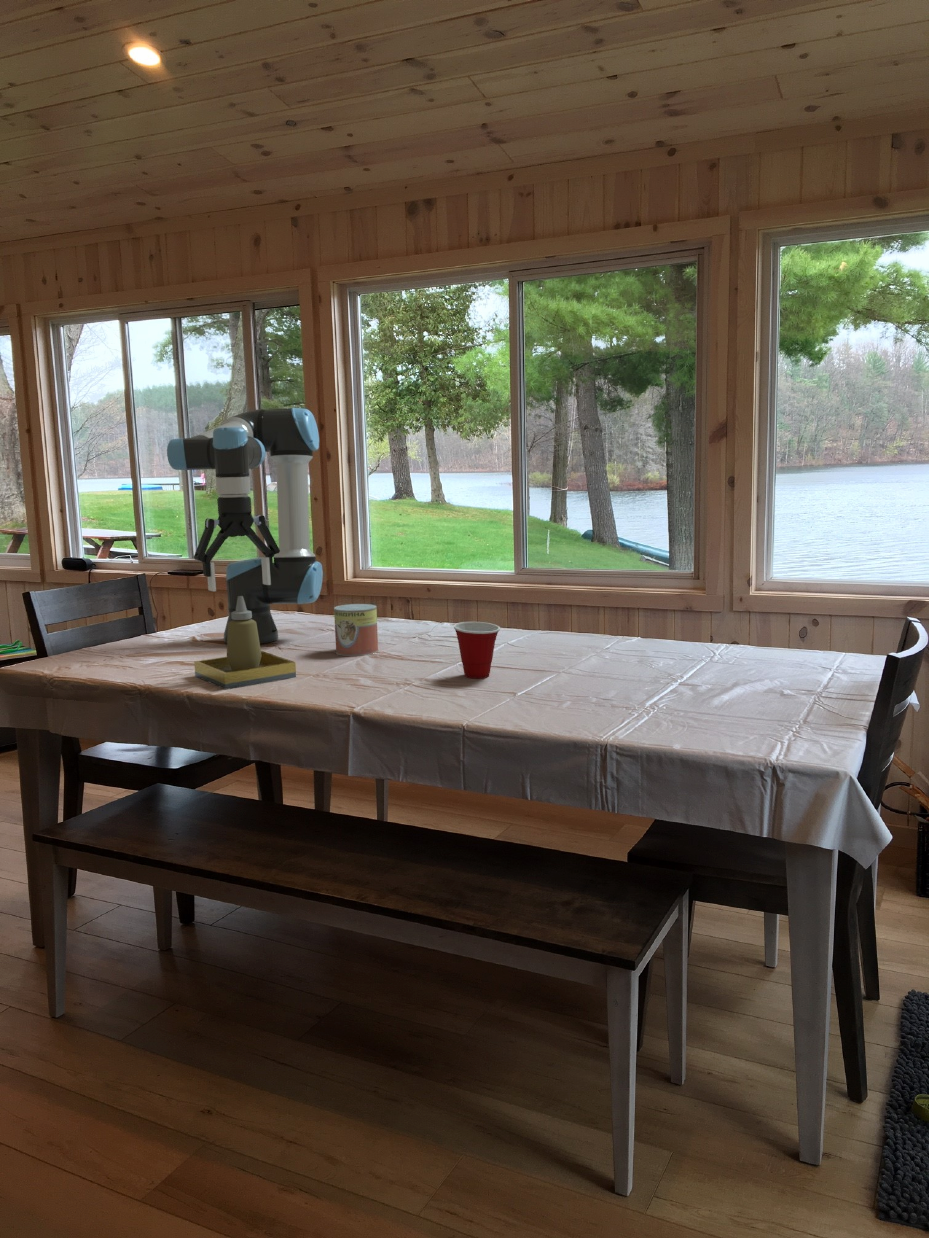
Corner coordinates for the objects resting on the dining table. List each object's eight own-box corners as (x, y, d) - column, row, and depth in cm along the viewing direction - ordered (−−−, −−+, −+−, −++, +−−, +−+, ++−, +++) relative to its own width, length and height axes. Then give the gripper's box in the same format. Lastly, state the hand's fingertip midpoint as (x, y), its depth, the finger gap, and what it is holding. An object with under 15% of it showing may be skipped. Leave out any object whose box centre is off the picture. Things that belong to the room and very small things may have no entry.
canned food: (327, 654, 244) (325, 609, 242) (348, 646, 254) (346, 603, 252) (366, 657, 239) (364, 611, 237) (385, 648, 250) (384, 604, 248)
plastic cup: (485, 683, 208) (484, 630, 206) (445, 678, 214) (444, 626, 212) (509, 673, 217) (509, 623, 215) (470, 668, 223) (469, 619, 221)
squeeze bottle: (253, 675, 215) (249, 599, 212) (221, 675, 217) (216, 598, 214) (268, 668, 223) (263, 594, 220) (236, 667, 225) (232, 593, 222)
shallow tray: (263, 665, 232) (262, 651, 232) (296, 677, 219) (295, 662, 218) (195, 676, 222) (194, 661, 221) (225, 689, 208) (224, 673, 207)
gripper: (276, 493, 223) (281, 580, 227) (174, 498, 209) (182, 591, 212) (290, 493, 218) (295, 583, 221) (187, 499, 203) (194, 595, 206)
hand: (240, 587), depth 217 cm, fingers open, 13 cm apart
